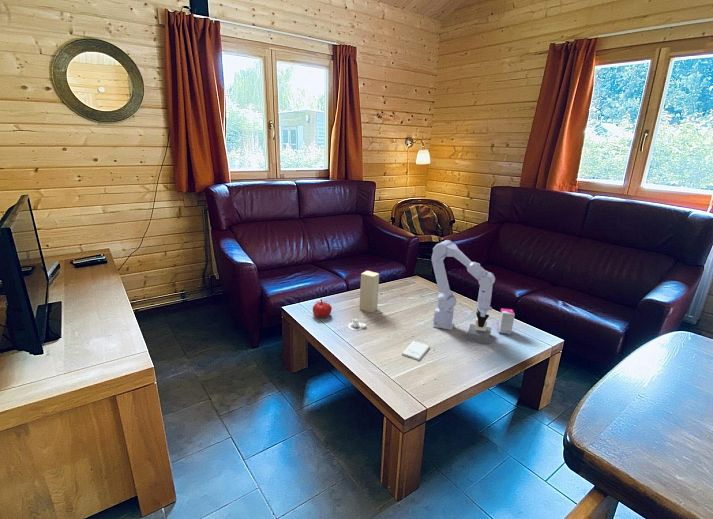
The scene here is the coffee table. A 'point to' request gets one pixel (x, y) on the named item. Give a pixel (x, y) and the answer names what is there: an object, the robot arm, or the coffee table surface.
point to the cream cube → (480, 327)
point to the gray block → (479, 334)
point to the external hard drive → (416, 350)
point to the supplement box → (506, 321)
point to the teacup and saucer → (356, 324)
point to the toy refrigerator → (369, 291)
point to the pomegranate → (321, 309)
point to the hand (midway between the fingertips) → (480, 324)
